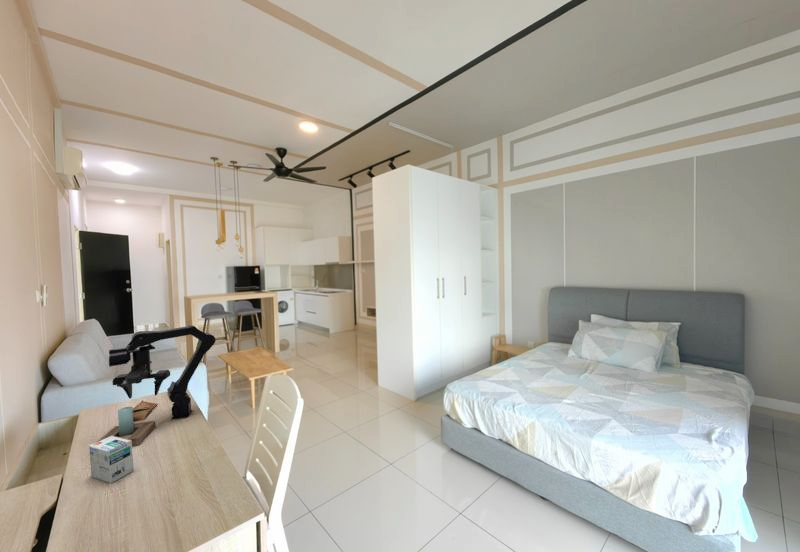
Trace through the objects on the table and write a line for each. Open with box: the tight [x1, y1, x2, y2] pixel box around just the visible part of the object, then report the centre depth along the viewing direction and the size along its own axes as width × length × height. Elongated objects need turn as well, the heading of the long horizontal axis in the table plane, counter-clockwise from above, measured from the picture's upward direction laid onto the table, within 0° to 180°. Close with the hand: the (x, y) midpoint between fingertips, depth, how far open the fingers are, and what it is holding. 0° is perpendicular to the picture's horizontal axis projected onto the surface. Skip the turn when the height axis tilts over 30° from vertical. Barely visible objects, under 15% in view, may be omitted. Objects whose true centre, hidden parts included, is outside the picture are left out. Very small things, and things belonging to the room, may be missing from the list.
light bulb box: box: [88, 436, 134, 484], centre depth 103 cm, size 11×7×11 cm, turn 71°
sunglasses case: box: [133, 400, 159, 423], centre depth 146 cm, size 18×7×7 cm
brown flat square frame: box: [96, 420, 156, 448], centre depth 124 cm, size 14×14×3 cm
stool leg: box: [117, 406, 135, 437], centre depth 123 cm, size 4×4×12 cm
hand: (143, 396), depth 133 cm, fingers open, 9 cm apart
